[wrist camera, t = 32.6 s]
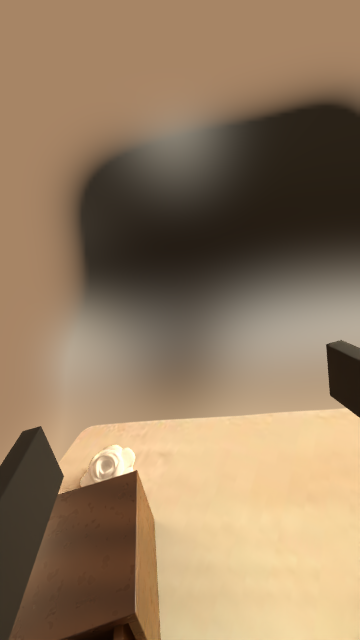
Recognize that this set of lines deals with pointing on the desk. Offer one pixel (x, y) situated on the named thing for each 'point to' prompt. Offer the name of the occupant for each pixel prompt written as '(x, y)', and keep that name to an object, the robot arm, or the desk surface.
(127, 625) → the drawer
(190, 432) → the desk surface
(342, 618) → the desk surface
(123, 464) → the rose
